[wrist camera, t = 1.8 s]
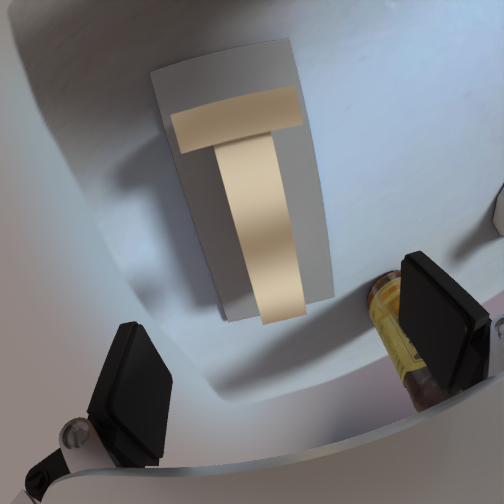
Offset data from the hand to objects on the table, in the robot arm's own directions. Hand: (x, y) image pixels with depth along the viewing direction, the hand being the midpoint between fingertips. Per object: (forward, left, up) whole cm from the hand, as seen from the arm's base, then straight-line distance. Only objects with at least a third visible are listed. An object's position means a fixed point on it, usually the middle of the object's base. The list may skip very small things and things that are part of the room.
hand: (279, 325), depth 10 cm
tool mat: (-1, 0, -14) cm, 14 cm away
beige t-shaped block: (-1, 0, -14) cm, 14 cm away
